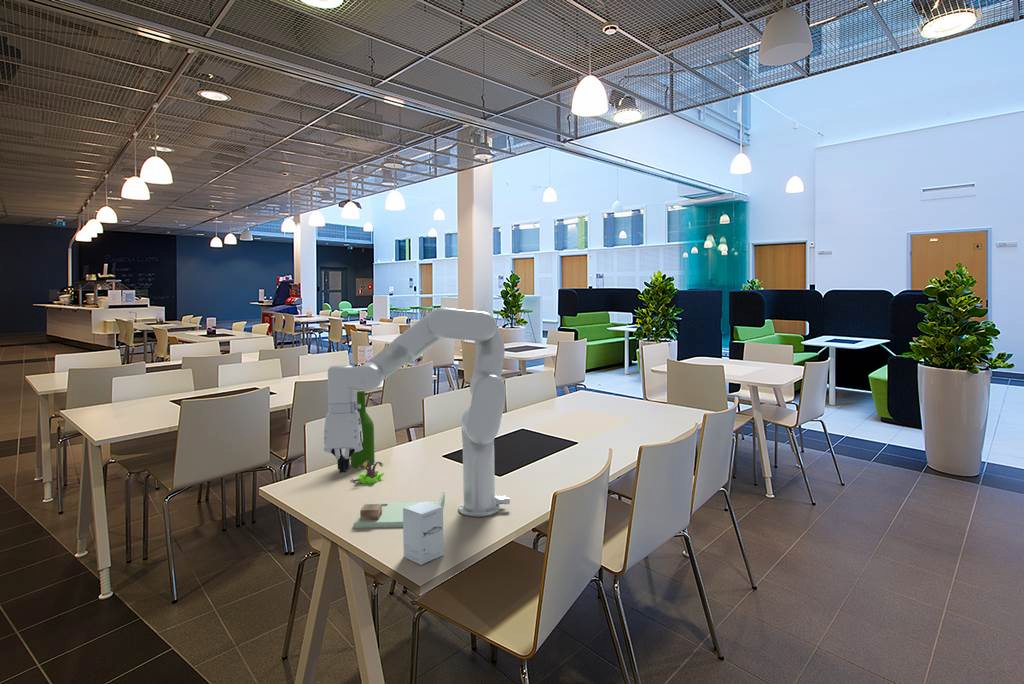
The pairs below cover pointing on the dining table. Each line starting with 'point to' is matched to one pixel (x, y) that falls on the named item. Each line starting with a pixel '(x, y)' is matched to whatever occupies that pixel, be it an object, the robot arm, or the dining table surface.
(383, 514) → the board
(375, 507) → the walnut block
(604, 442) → the dining table surface
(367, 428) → the wine bottle
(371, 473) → the plant
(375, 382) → the robot arm
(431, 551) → the supplement box
